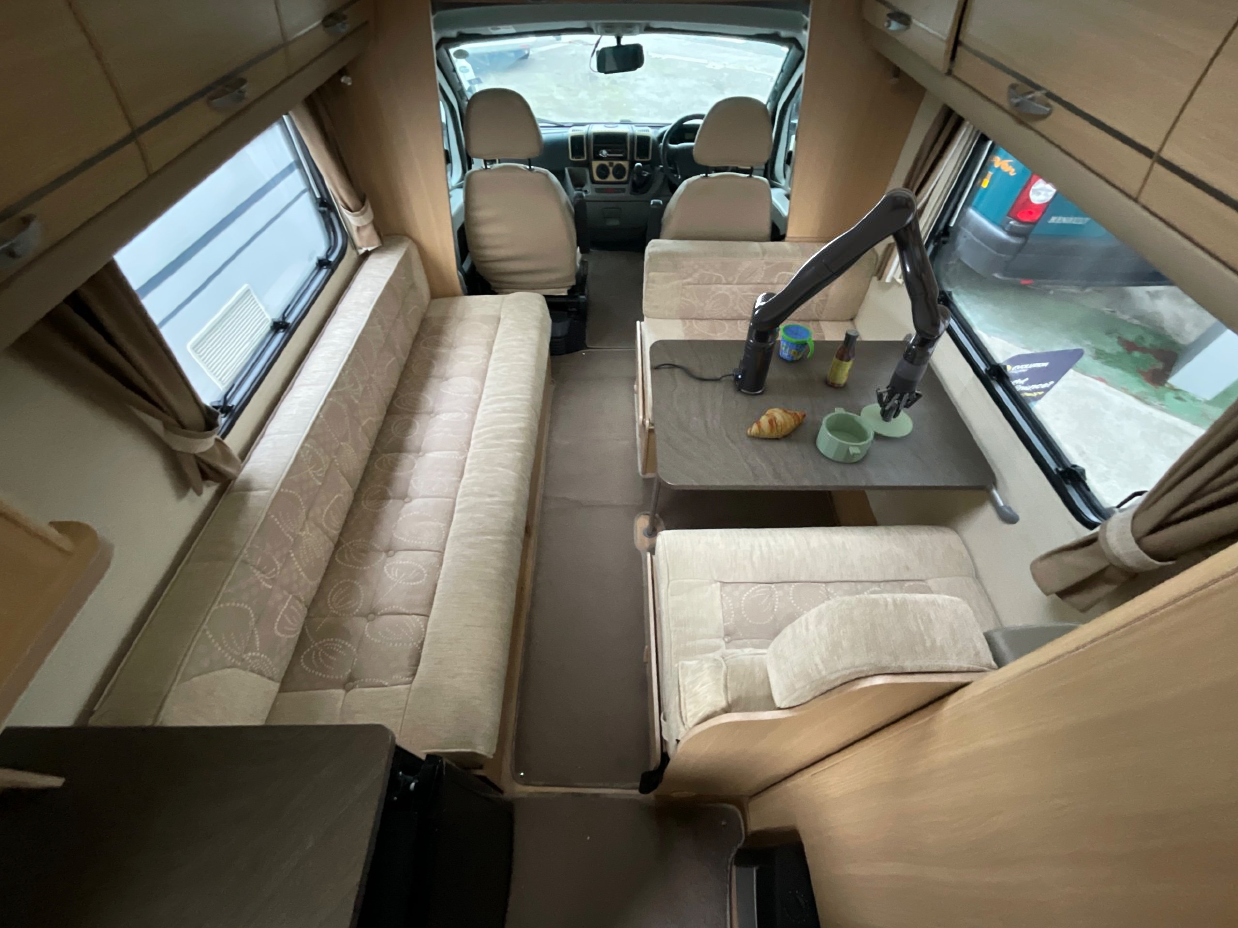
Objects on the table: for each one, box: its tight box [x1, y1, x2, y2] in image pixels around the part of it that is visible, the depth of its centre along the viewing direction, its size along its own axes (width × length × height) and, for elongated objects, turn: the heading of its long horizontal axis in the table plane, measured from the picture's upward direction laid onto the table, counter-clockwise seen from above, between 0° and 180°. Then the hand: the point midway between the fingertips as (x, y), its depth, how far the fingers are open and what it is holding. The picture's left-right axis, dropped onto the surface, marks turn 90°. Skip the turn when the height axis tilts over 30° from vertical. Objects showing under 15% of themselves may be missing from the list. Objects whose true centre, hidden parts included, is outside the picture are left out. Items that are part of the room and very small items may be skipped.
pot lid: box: [859, 401, 914, 438], centre depth 174 cm, size 16×16×7 cm
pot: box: [815, 407, 875, 464], centre depth 168 cm, size 15×20×8 cm
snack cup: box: [777, 323, 815, 362], centre depth 200 cm, size 16×10×10 cm
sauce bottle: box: [826, 328, 860, 388], centre depth 186 cm, size 6×6×20 cm
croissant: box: [746, 407, 807, 439], centre depth 173 cm, size 21×10×8 cm
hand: (887, 416), depth 174 cm, fingers closed on pot lid, 3 cm apart
